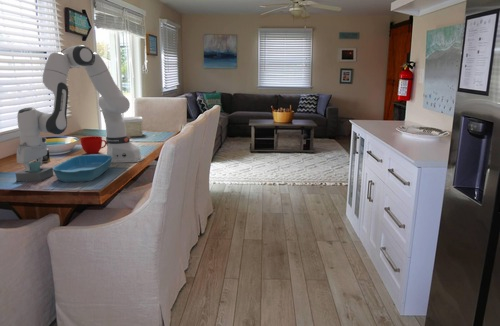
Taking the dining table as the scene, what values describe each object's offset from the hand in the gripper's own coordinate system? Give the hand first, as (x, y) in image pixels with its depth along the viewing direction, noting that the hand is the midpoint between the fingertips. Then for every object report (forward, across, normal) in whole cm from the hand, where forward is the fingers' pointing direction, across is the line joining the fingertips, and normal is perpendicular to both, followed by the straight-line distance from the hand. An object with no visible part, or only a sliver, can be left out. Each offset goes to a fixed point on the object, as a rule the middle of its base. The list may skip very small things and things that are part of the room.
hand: (34, 168), depth 202 cm
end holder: (+5, 0, 0) cm, 5 cm away
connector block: (+4, 0, 0) cm, 4 cm away
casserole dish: (+6, +8, -22) cm, 24 cm away
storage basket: (+6, +128, -1) cm, 128 cm away
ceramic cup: (+5, +60, -4) cm, 60 cm away
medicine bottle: (+5, +37, +18) cm, 41 cm away
